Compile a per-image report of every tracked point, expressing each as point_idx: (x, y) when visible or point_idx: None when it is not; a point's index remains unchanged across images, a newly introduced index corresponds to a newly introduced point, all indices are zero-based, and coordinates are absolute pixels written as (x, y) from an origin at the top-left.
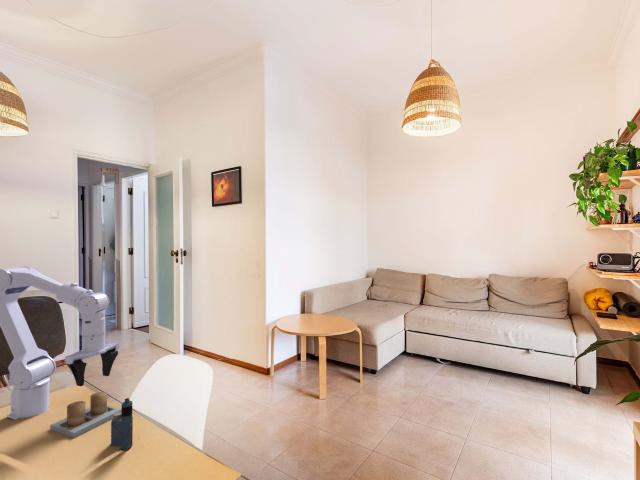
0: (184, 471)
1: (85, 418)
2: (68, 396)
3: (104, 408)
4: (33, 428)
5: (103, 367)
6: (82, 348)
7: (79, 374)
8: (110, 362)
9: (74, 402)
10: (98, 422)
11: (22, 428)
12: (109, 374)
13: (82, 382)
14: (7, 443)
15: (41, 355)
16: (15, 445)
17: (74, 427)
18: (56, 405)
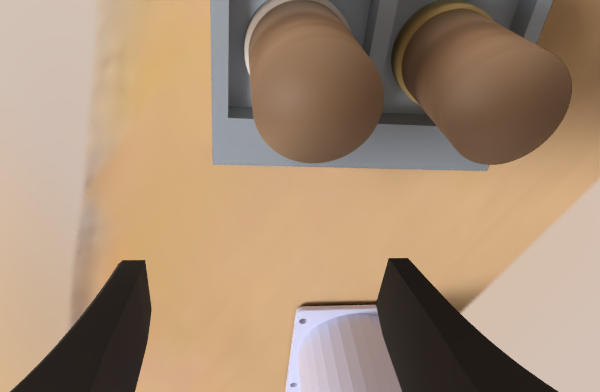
0: None
1: (380, 67)
2: (182, 375)
3: (301, 7)
4: (437, 247)
5: (131, 382)
6: None
7: (498, 351)
8: (81, 383)
9: (478, 155)
10: None
11: (442, 280)
12: (120, 266)
13: (416, 277)
14: (548, 222)
15: None
16: (564, 182)
17: (493, 20)
18: (260, 344)
